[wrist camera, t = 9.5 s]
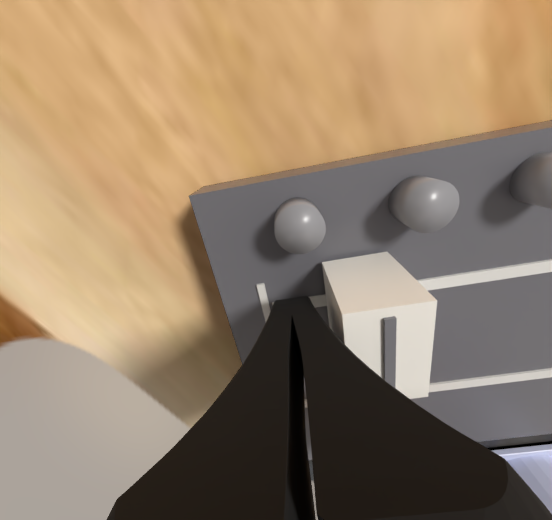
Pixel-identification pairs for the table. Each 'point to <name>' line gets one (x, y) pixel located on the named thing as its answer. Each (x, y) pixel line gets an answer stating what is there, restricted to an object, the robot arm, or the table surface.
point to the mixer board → (413, 260)
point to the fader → (383, 318)
